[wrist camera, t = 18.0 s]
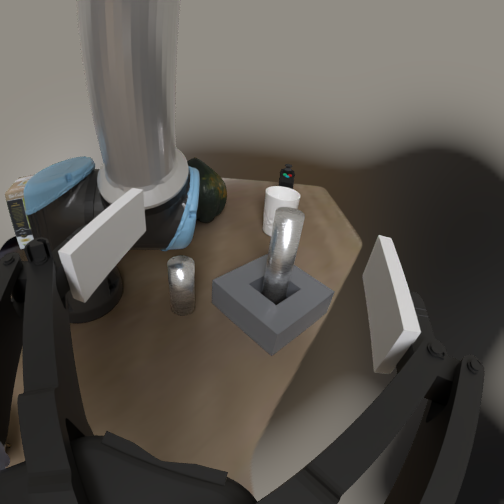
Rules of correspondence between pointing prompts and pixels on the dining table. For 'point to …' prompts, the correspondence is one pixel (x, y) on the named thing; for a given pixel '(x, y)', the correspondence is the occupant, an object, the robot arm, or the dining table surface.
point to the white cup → (277, 204)
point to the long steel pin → (282, 253)
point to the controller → (287, 177)
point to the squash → (209, 192)
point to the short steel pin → (182, 284)
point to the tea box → (19, 211)
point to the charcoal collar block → (270, 304)
